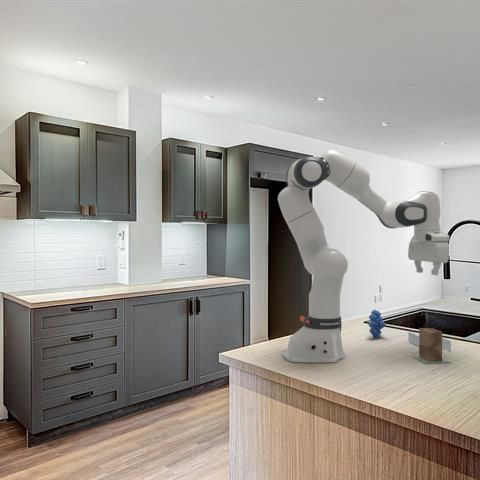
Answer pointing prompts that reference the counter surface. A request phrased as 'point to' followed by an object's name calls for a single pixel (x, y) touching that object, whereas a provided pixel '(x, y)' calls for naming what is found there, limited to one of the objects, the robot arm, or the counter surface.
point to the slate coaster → (429, 362)
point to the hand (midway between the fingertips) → (427, 273)
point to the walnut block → (430, 344)
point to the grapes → (376, 323)
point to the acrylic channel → (415, 340)
